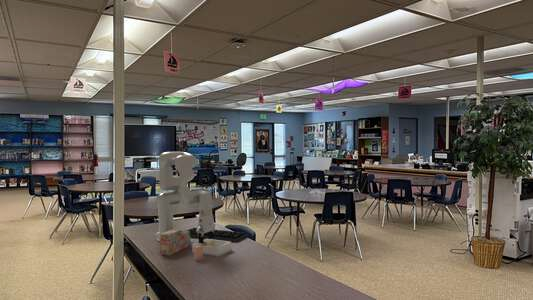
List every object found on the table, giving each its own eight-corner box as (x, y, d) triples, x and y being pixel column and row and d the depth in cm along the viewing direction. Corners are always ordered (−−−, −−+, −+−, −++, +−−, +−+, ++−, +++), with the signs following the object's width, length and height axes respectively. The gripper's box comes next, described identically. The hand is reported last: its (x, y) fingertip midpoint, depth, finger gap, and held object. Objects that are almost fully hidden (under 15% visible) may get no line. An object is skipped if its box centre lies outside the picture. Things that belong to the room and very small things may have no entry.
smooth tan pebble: (192, 260, 200) (191, 247, 200) (197, 257, 204) (197, 245, 204) (199, 261, 198) (199, 248, 197) (205, 258, 202) (204, 246, 202)
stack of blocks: (182, 244, 232) (181, 225, 231) (190, 245, 229) (190, 226, 229) (160, 254, 212) (160, 233, 211) (169, 255, 209) (169, 234, 209)
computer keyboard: (247, 237, 248) (247, 232, 248) (236, 243, 233) (236, 237, 233) (193, 232, 267) (193, 226, 267) (179, 237, 253) (179, 231, 252)
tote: (192, 252, 213) (192, 244, 213) (206, 246, 226) (206, 238, 225) (217, 256, 205) (217, 247, 205) (231, 250, 217) (231, 241, 217)
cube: (200, 249, 216) (200, 241, 216) (205, 247, 220) (205, 239, 220) (207, 250, 214) (207, 242, 213) (212, 248, 218) (212, 240, 218)
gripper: (201, 215, 207) (202, 245, 207) (219, 210, 222) (219, 238, 223) (191, 214, 211) (191, 244, 211) (209, 209, 226) (209, 237, 226)
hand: (206, 241), depth 217 cm, fingers open, 9 cm apart
